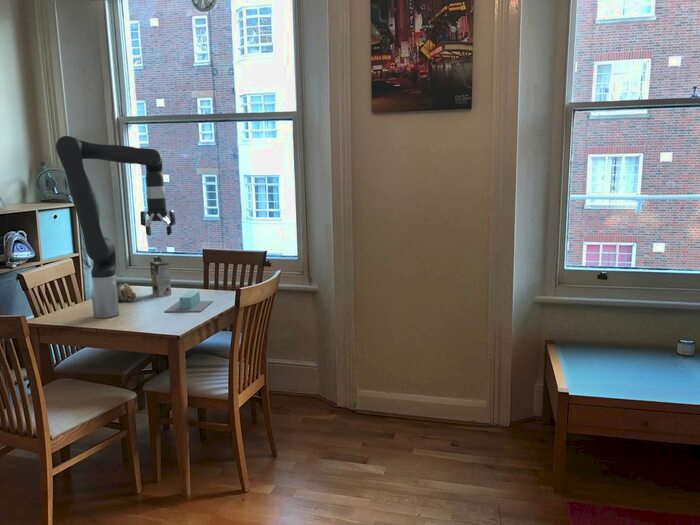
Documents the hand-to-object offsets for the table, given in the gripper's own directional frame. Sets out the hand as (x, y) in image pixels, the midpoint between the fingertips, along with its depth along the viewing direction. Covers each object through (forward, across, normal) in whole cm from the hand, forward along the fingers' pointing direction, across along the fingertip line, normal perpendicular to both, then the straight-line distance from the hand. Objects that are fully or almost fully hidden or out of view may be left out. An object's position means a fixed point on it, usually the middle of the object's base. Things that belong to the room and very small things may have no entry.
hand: (159, 235), depth 236 cm
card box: (+30, +9, +12) cm, 34 cm away
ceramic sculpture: (+34, -27, +20) cm, 47 cm away
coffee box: (+33, -13, +30) cm, 47 cm away
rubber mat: (+33, +9, +5) cm, 35 cm away
